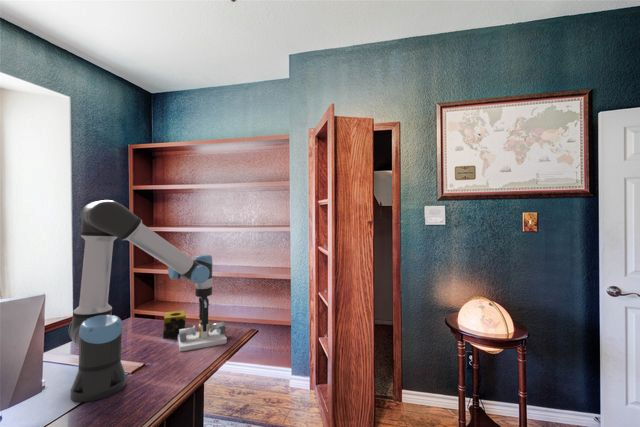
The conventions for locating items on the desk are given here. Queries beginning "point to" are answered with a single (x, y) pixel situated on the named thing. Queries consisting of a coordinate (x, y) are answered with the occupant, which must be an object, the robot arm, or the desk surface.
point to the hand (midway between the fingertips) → (203, 335)
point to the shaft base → (198, 339)
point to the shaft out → (217, 327)
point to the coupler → (200, 330)
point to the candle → (173, 323)
